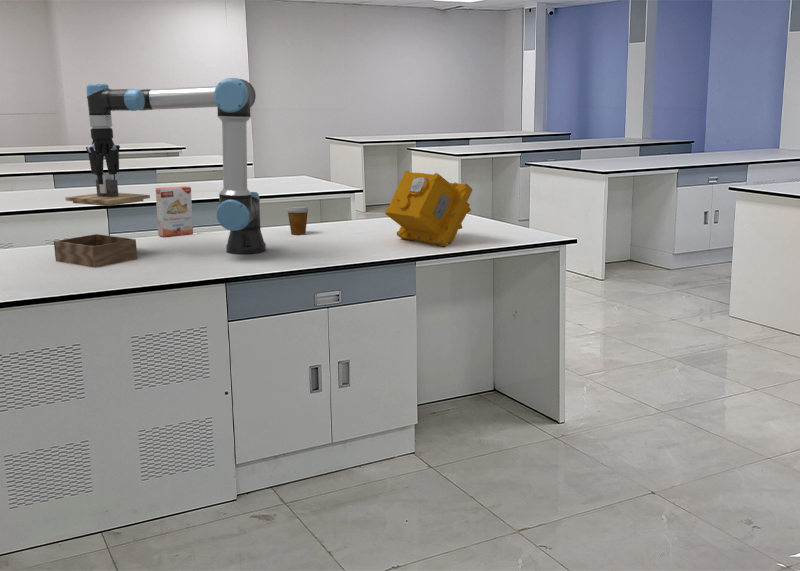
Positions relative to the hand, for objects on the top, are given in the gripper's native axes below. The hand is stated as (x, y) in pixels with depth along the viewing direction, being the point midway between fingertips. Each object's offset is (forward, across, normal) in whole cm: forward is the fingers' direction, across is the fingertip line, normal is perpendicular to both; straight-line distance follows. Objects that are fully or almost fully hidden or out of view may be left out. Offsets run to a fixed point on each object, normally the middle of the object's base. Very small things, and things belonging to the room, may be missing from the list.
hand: (107, 192), depth 287 cm
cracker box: (+24, -47, -16) cm, 56 cm away
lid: (+4, 0, 0) cm, 4 cm away
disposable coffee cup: (+25, -76, +29) cm, 85 cm away
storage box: (+24, +10, +3) cm, 26 cm away
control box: (+26, -87, +88) cm, 127 cm away
